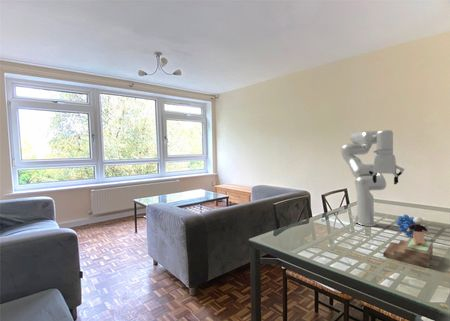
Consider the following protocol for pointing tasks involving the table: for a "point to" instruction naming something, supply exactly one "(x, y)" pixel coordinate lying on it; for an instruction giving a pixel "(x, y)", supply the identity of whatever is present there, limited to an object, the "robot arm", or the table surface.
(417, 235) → the grandmother figurine
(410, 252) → the step riser
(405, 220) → the grapes
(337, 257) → the table surface
